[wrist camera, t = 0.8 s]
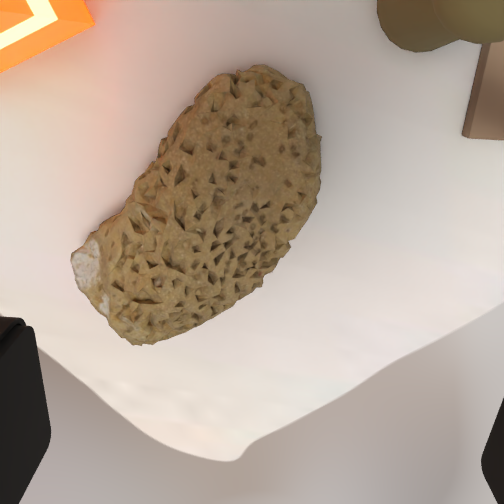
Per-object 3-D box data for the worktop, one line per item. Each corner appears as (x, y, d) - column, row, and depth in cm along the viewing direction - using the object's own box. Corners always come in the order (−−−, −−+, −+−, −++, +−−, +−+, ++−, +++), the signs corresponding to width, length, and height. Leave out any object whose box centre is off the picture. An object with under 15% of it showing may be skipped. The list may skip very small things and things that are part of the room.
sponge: (175, 322, 40) (389, 213, 31) (125, 376, 33) (384, 255, 24) (84, 191, 38) (286, 36, 29) (11, 219, 31) (248, 26, 22)
